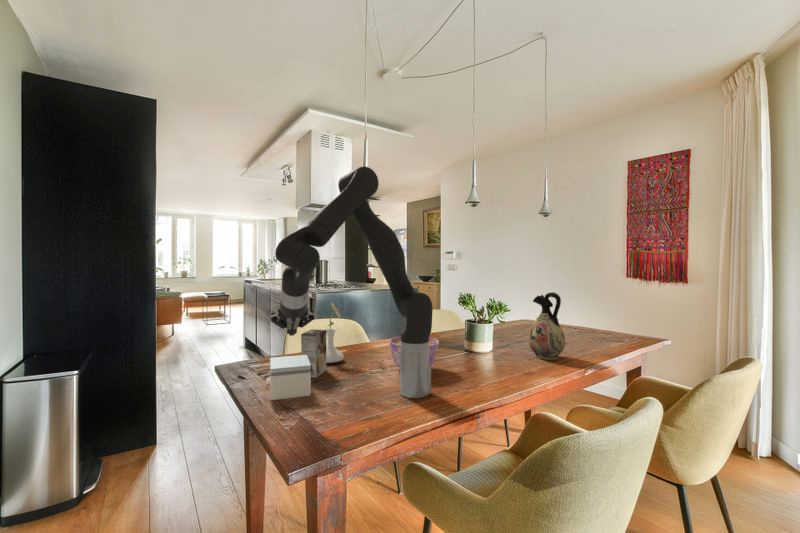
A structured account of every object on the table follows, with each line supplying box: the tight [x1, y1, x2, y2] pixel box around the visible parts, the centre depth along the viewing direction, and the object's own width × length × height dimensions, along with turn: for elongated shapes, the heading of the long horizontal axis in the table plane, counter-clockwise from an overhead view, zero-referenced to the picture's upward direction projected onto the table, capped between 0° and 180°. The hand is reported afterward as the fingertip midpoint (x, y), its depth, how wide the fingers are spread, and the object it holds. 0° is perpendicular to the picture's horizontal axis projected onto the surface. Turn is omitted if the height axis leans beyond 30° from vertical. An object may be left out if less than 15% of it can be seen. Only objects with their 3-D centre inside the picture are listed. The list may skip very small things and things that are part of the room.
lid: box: [269, 354, 311, 371], centre depth 118 cm, size 12×11×1 cm
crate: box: [269, 365, 312, 401], centre depth 118 cm, size 12×11×9 cm
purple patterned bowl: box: [388, 335, 440, 368], centre depth 143 cm, size 20×20×12 cm
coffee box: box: [300, 329, 327, 378], centre depth 137 cm, size 9×6×16 cm
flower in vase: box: [324, 302, 345, 364], centre depth 154 cm, size 13×11×25 cm
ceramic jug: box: [528, 291, 566, 361], centre depth 162 cm, size 17×15×30 cm
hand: (291, 333), depth 111 cm, fingers closed
